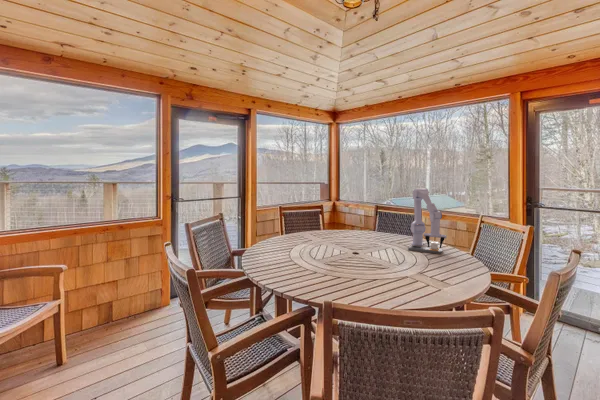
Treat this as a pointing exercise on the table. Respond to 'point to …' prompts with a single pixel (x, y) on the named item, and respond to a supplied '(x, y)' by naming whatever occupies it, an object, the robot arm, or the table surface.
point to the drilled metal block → (434, 245)
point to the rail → (424, 249)
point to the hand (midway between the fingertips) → (434, 247)
